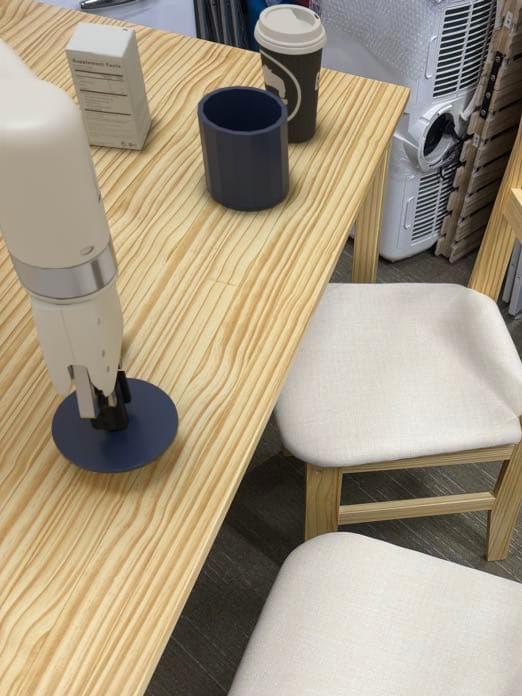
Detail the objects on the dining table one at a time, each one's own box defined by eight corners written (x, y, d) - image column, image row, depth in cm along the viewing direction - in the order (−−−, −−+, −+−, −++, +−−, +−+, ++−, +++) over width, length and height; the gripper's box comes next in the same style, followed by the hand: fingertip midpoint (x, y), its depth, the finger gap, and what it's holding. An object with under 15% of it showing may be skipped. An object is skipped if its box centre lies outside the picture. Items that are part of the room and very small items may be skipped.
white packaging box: (100, 116, 111) (78, 19, 101) (153, 122, 112) (136, 26, 101) (87, 145, 107) (62, 48, 97) (141, 151, 108) (123, 55, 97)
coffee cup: (323, 152, 112) (325, 40, 99) (256, 146, 111) (249, 32, 98) (327, 116, 117) (328, 5, 104) (262, 110, 116) (256, -3, 104)
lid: (44, 477, 74) (23, 432, 68) (64, 383, 80) (46, 335, 74) (175, 478, 75) (164, 433, 70) (183, 386, 82) (175, 338, 76)
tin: (204, 209, 102) (194, 131, 93) (209, 161, 108) (200, 83, 99) (289, 213, 104) (287, 136, 95) (289, 164, 109) (287, 88, 101)
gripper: (31, 190, 64) (84, 353, 80) (-8, 329, 56) (59, 481, 71) (126, 195, 65) (160, 355, 81) (101, 332, 57) (144, 481, 72)
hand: (112, 412), depth 76 cm, fingers closed on lid, 2 cm apart
